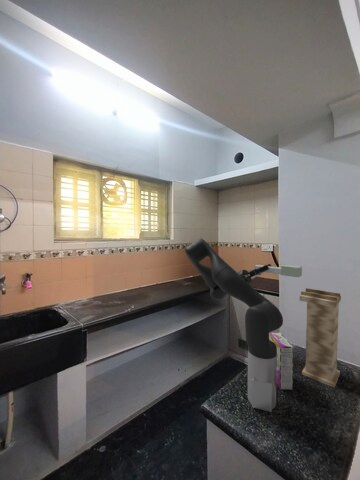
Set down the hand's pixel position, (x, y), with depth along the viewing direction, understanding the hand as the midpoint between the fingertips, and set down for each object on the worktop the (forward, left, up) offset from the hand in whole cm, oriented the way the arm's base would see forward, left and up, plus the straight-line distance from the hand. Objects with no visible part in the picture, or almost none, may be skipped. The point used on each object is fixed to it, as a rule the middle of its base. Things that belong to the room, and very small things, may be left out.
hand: (269, 266), depth 102 cm
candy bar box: (-18, -3, -42) cm, 46 cm away
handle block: (-1, -3, -3) cm, 4 cm away
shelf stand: (-9, -19, -41) cm, 47 cm away
